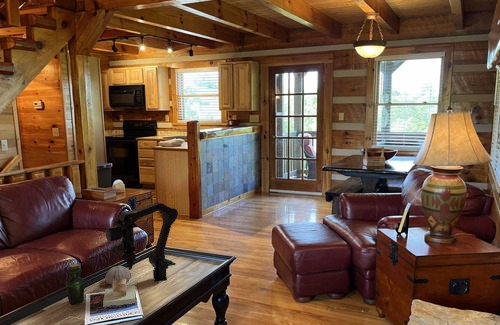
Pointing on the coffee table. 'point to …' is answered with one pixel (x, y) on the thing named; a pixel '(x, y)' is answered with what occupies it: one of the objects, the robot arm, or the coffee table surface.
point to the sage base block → (119, 300)
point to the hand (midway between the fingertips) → (130, 266)
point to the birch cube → (119, 287)
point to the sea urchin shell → (117, 274)
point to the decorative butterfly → (169, 261)
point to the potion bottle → (75, 285)
